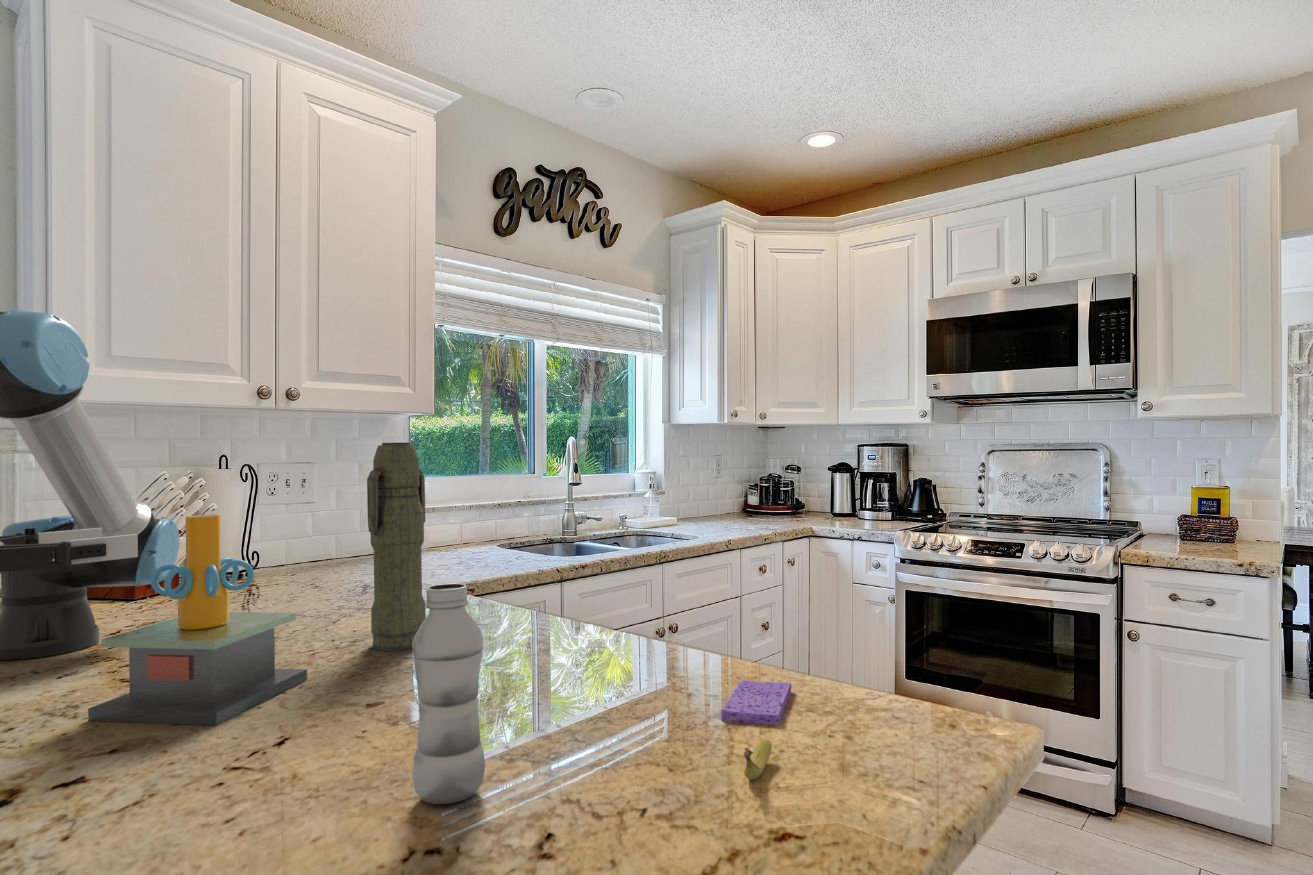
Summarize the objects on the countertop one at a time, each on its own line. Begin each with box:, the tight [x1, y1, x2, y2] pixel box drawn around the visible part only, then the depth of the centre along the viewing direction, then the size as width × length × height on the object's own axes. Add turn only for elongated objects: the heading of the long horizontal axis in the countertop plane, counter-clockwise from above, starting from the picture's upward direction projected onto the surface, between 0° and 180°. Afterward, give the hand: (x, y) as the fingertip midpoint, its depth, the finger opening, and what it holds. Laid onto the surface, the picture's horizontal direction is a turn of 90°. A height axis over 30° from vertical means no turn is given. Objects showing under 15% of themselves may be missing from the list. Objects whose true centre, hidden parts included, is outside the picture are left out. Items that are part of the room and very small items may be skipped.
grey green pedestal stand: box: [87, 611, 308, 726], centre depth 100 cm, size 18×18×10 cm
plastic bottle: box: [411, 582, 486, 805], centre depth 70 cm, size 6×7×20 cm
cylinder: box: [150, 513, 255, 630], centre depth 100 cm, size 12×10×15 cm
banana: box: [743, 739, 773, 781], centre depth 73 cm, size 8×2×4 cm, turn 160°
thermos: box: [366, 442, 427, 652], centre depth 127 cm, size 9×12×35 cm
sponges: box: [720, 679, 792, 726], centre depth 93 cm, size 7×13×2 cm, turn 163°
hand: (118, 541), depth 93 cm, fingers open, 13 cm apart
